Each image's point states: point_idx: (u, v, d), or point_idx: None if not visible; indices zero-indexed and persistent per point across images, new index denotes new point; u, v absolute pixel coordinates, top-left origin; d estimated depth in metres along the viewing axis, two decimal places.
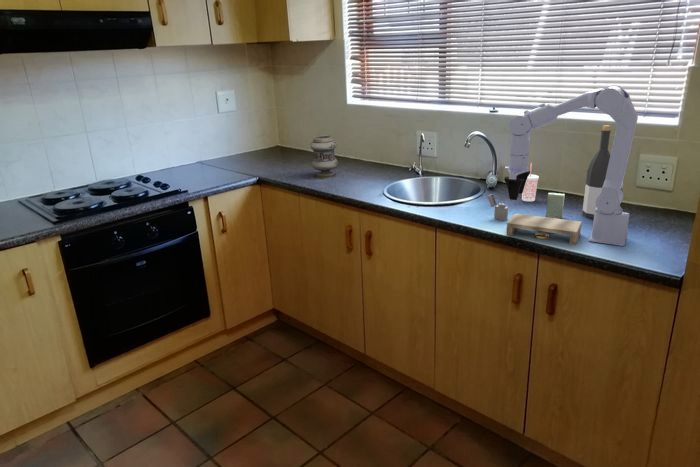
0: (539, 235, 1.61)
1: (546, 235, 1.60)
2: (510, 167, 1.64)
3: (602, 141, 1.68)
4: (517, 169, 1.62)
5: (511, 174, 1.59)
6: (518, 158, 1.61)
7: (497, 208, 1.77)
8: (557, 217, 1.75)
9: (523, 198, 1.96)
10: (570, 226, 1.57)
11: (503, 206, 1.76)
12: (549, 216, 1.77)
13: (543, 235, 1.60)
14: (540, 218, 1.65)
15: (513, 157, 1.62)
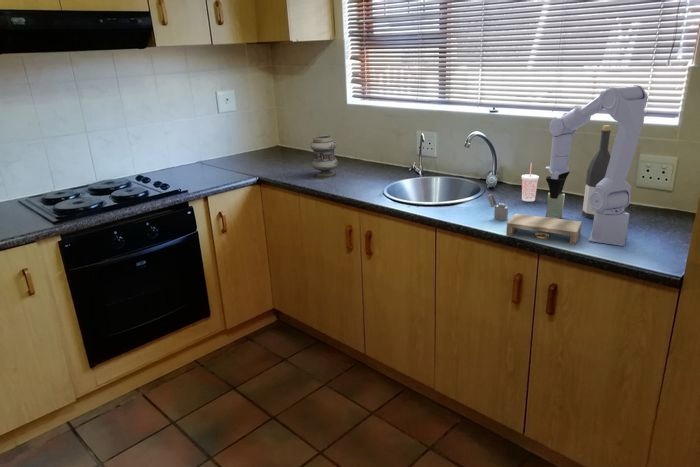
0: (539, 235, 1.61)
1: (546, 235, 1.60)
2: (551, 167, 1.71)
3: (602, 141, 1.68)
4: (558, 169, 1.70)
5: (553, 174, 1.67)
6: (560, 159, 1.68)
7: (497, 208, 1.77)
8: (557, 217, 1.75)
9: (523, 198, 1.96)
10: (570, 226, 1.57)
11: (503, 206, 1.76)
12: (549, 216, 1.77)
13: (543, 235, 1.60)
14: (540, 218, 1.65)
15: (555, 158, 1.69)
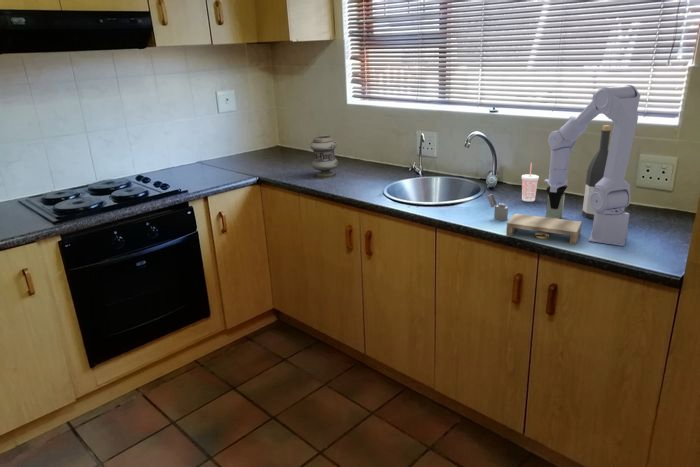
0: (539, 235, 1.61)
1: (546, 235, 1.60)
2: (550, 180, 1.73)
3: (602, 141, 1.68)
4: (557, 182, 1.71)
5: (552, 187, 1.68)
6: (558, 172, 1.70)
7: (497, 208, 1.77)
8: (557, 217, 1.75)
9: (523, 198, 1.96)
10: (570, 226, 1.57)
11: (503, 206, 1.76)
12: (549, 216, 1.77)
13: (543, 235, 1.60)
14: (540, 218, 1.65)
15: (553, 171, 1.71)
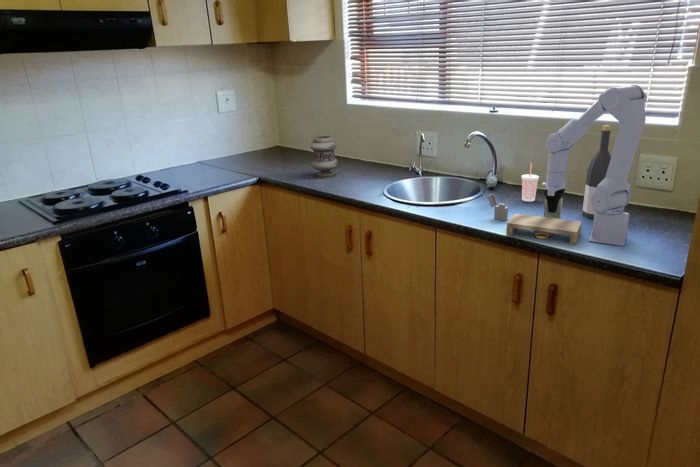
0: (539, 235, 1.60)
1: (546, 235, 1.60)
2: (548, 183, 1.69)
3: (602, 141, 1.68)
4: (555, 185, 1.68)
5: (550, 191, 1.65)
6: (556, 175, 1.67)
7: (497, 208, 1.77)
8: None
9: (523, 198, 1.96)
10: (570, 226, 1.57)
11: (503, 206, 1.76)
12: None
13: (543, 235, 1.60)
14: (540, 218, 1.65)
15: (551, 174, 1.67)
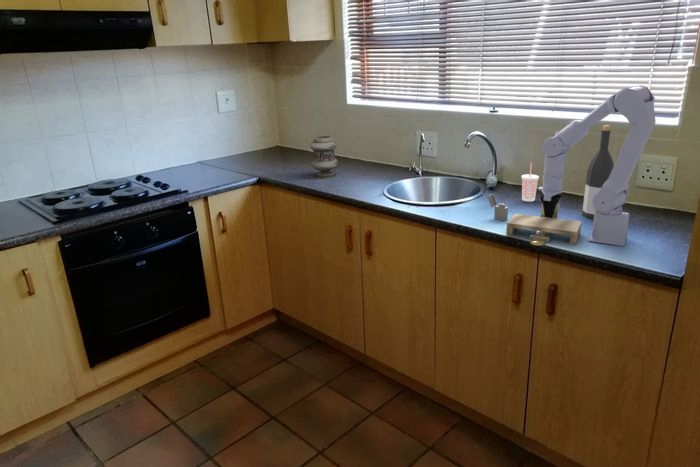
0: (535, 242, 1.56)
1: (542, 242, 1.56)
2: (544, 188, 1.65)
3: (602, 141, 1.68)
4: (551, 190, 1.63)
5: (546, 195, 1.60)
6: (553, 179, 1.62)
7: (497, 208, 1.77)
8: None
9: (523, 198, 1.96)
10: (570, 226, 1.57)
11: (503, 206, 1.76)
12: None
13: (539, 242, 1.56)
14: (540, 218, 1.65)
15: (547, 178, 1.63)
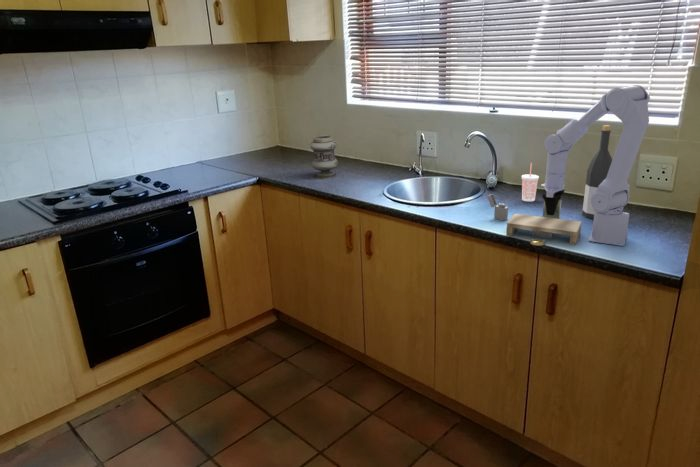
0: (535, 242, 1.56)
1: (542, 242, 1.56)
2: (546, 185, 1.68)
3: (602, 141, 1.68)
4: (554, 187, 1.66)
5: (548, 192, 1.63)
6: (555, 176, 1.65)
7: (497, 208, 1.77)
8: None
9: (523, 198, 1.96)
10: (570, 226, 1.57)
11: (503, 206, 1.76)
12: None
13: (539, 242, 1.56)
14: (540, 218, 1.65)
15: (550, 175, 1.66)
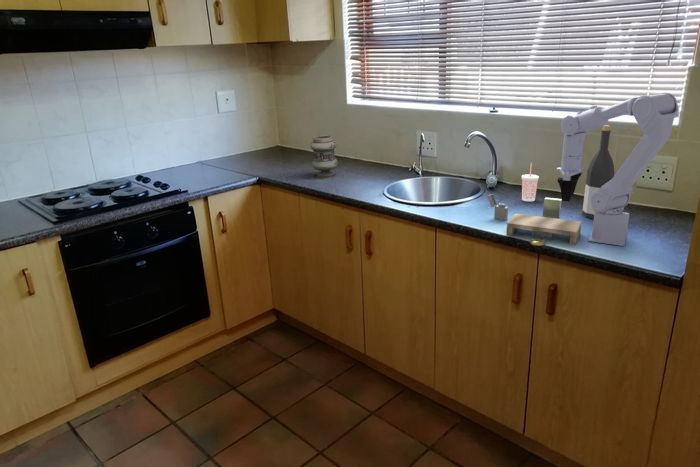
0: (535, 242, 1.56)
1: (542, 242, 1.56)
2: (563, 168, 1.62)
3: (602, 141, 1.68)
4: (570, 170, 1.61)
5: (565, 175, 1.58)
6: (572, 159, 1.60)
7: (497, 208, 1.77)
8: None
9: (523, 198, 1.96)
10: (570, 226, 1.57)
11: (503, 206, 1.76)
12: None
13: (539, 242, 1.56)
14: (540, 218, 1.65)
15: (566, 158, 1.60)
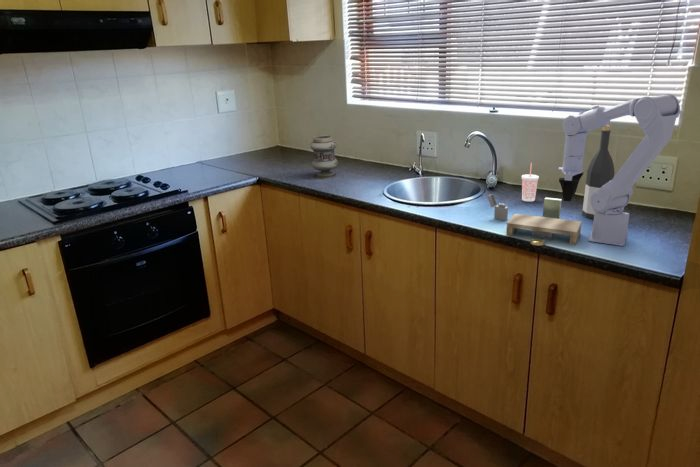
0: (535, 242, 1.56)
1: (542, 242, 1.56)
2: (564, 168, 1.62)
3: (602, 141, 1.68)
4: (572, 170, 1.60)
5: (567, 175, 1.57)
6: (573, 159, 1.59)
7: (497, 208, 1.77)
8: None
9: (523, 198, 1.96)
10: (570, 226, 1.57)
11: (503, 206, 1.76)
12: None
13: (539, 242, 1.56)
14: (540, 218, 1.65)
15: (568, 158, 1.60)
